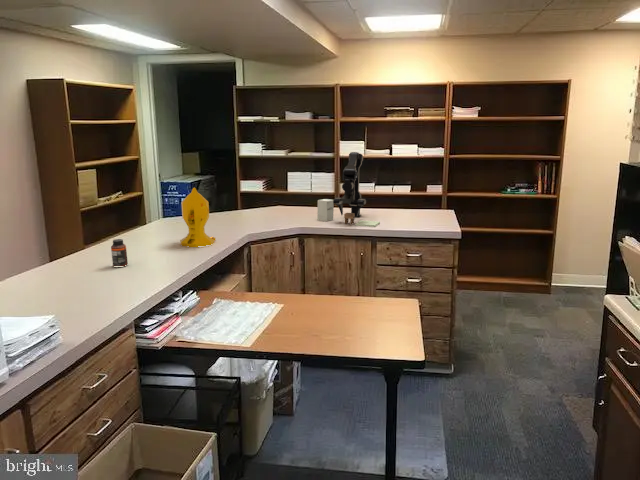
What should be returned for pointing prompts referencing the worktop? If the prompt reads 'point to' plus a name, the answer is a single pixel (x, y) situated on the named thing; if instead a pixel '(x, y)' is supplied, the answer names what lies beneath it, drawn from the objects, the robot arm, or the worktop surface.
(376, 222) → the sage mat
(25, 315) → the worktop surface
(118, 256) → the supplement bottle
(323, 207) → the supplement box
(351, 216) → the toy stool
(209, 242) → the yellow pointed sculpture
